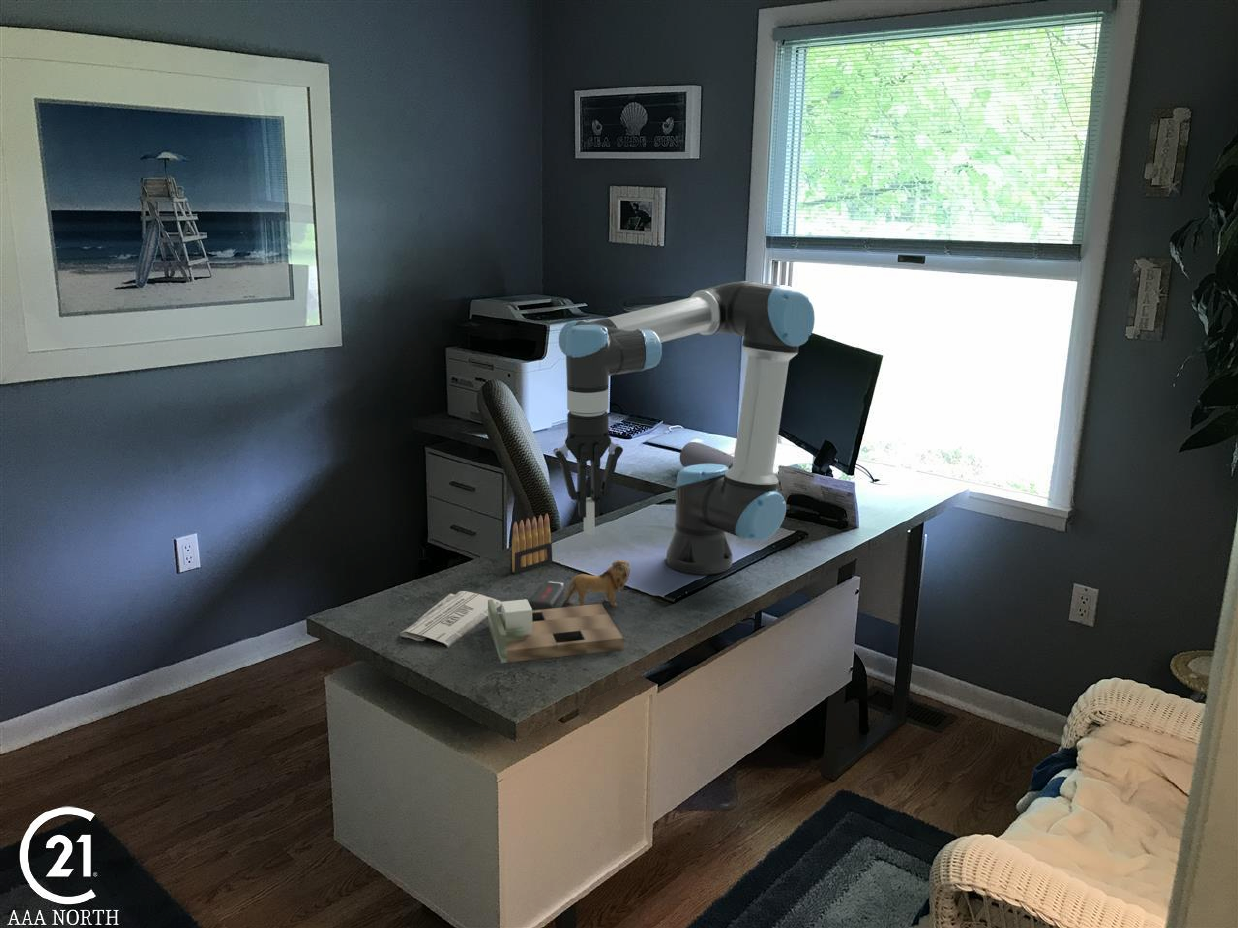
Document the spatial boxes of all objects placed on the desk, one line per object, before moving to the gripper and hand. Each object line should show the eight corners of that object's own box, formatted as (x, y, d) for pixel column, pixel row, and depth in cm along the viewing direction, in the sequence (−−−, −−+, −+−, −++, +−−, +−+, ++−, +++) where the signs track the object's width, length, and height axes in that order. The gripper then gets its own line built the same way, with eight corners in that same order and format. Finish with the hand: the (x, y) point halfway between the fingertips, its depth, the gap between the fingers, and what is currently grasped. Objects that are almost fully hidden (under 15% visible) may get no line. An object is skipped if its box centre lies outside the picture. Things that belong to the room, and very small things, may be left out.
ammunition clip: (515, 574, 224) (514, 523, 221) (510, 572, 226) (509, 521, 222) (552, 563, 231) (552, 513, 228) (547, 560, 233) (547, 511, 229)
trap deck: (601, 614, 205) (601, 589, 204) (622, 649, 190) (623, 622, 189) (488, 626, 199) (487, 599, 197) (501, 663, 184) (500, 635, 183)
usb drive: (527, 612, 206) (527, 599, 206) (544, 589, 218) (544, 577, 217) (552, 615, 205) (552, 602, 205) (567, 592, 217) (567, 580, 216)
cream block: (527, 623, 195) (527, 599, 194) (532, 634, 190) (532, 609, 189) (501, 625, 194) (501, 601, 192) (506, 637, 189) (505, 612, 188)
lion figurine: (624, 594, 215) (625, 555, 213) (633, 604, 210) (634, 564, 208) (558, 603, 210) (558, 563, 208) (566, 613, 205) (566, 572, 203)
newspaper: (451, 596, 214) (452, 585, 213) (502, 612, 210) (503, 601, 209) (389, 639, 194) (390, 627, 193) (444, 657, 190) (445, 645, 189)
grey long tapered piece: (748, 490, 286) (750, 456, 283) (722, 495, 281) (723, 461, 279) (703, 470, 305) (704, 438, 302) (677, 474, 300) (678, 441, 297)
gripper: (617, 404, 189) (617, 522, 196) (548, 408, 186) (551, 528, 193) (627, 413, 182) (627, 536, 189) (556, 418, 179) (559, 542, 186)
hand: (589, 532), depth 191 cm, fingers closed
